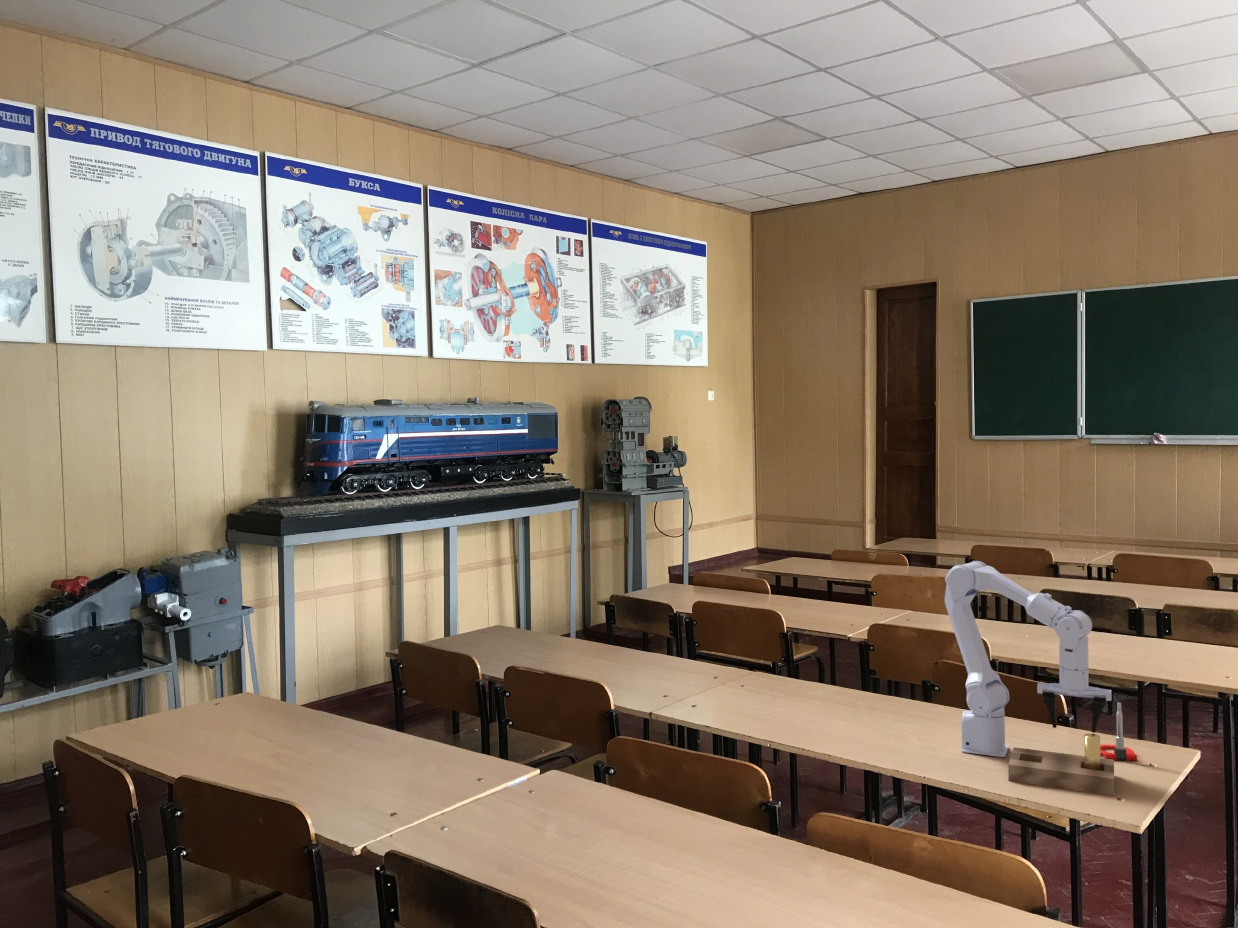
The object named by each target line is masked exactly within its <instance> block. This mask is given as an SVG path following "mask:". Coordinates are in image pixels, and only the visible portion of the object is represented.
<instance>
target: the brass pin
mask: <svg viewBox="0 0 1238 928" xmlns="http://www.w3.org/2000/svg"><path fill="white" fill-rule="evenodd" d="M1083 737H1084V745H1083V747H1084V749H1083V750H1084V752H1083V753H1084V755H1083V756H1085V769H1091V770H1099V771H1100V758H1101V755H1100V745H1101V735H1100V734H1097V733H1092V732H1091V733H1084V735H1083Z"/></svg>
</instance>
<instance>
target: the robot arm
mask: <svg viewBox="0 0 1238 928" xmlns="http://www.w3.org/2000/svg"><path fill="white" fill-rule="evenodd" d="M944 581H945V584H946V586H945V592H944V601H943V602H944V606H945V607H946V610H947V611H946V612H947V614H948V617H949V621H950V623H951V626H952V629H953V632H954V635H955V639H956V642H957V644H958V647H959V649H960V650H959V652H960V654H961V657H962V660H963V662H964V665H965V668H966V673H967V679H966V682H965V689H966V705H967V706H968V709H969V710H963V711H962V717H961V752H962V753H967V754H973V755H975V754H976V755H985V756H990V757H999V758H1005V757H1006V756H1007V753H1008V751H1009V745H1007V744H1006V725H1005V724H1006V722H1005V721H1006V720H1005V719H1006V718H1005V717H1006V716H1005V714H1006V711H1005V706H1006V705H1007V704H1008V703H1009V701H1010V692H1009V689H1008V687H1006V685H1005V684H1004V683H1003V682H1002V680H1001V677H1000V675H999V674H998V672H996V671H995V670H994V669H993V668H992V666H991V664H990V663H991V662H990V660H989V658H988V657H989V656H988V654H987V650H986V648H985V645H984V642H983V639H982V636H981V633H980V630H979V627H978V624H977V621H976V618H975V615H974V612H973V609H972V607H971V606H972V605H971V602H972V601H973V599H974V598H975V596H976V595H977V593H978V592H980V591H986V590H987V591H988V590H989V591H990V590H991V591H994V592H996V593H998V594H1000V595H1002V596H1004V597H1006V598H1008V599H1009V600H1011V601H1013V602H1015V603H1017V604H1019V605H1021V606H1023V607H1024V609H1025V611H1026V614H1027V615H1028V616H1030V617H1032V618H1033V619H1034V620H1037V621H1038V622H1040V623H1042V624H1043V625H1046V626H1047V627H1048V628H1051V630H1054V631H1055V634H1056V636H1058V638H1059V646H1058V647H1059V648H1058V649H1059V650H1058V652H1059V656H1058V657H1059V660H1058V661H1059V665H1058V666H1059V668H1058V670H1059V675H1058V676H1059V682H1058V683H1056V682H1053V683H1052V682H1051V683H1048V682H1038V683H1037V688H1036V689H1037V692H1036V693H1037V694H1041V695H1042V700H1043V702H1044V704H1045V706H1046V708H1047V711H1048V712H1049V713H1048V714H1049V716H1050V719H1051V724H1052V728H1053V729H1057V726H1058V725H1057V723H1058V720H1057V695H1059V696H1070V697H1078V698H1088V699H1092V722H1091V733H1092V734H1096V731H1097V724H1098V722H1099V721H1098V720H1099V718H1100V716H1101V714H1102V712H1103V710H1104V708H1105V707H1106V703H1107V701H1108V702H1111V701H1112V689H1107V688H1100V687H1095V686H1089V636H1088V635H1089V634H1090V633H1091V632H1092V629H1093V621H1092V619H1091V618H1090V616H1089V615H1088V614H1086V613H1085V612H1084V611H1083V610H1077V609H1076V610H1072V607H1071V606H1069V605H1064V604H1062V603H1061V602H1058V601H1056V600H1055V599H1053V598H1052V597H1053V596H1052V594H1050V593H1047V592H1046V593H1042V592H1037V593H1032V592H1030V591H1029V590H1028V589H1026V588H1024V587H1023V586H1020V585H1019V584H1018V583H1016V582H1015V581H1013V580H1012V579H1010V578H1008V577H1006V576H1005V575H1003V574H1002V573H1000V571H999V570H996V568H995V567H993V566H990V565H987V564H986V563H984V562H983V561H980V560H973V561H970V562H968V563H964V564H957V565H954V566H953V567H952V568H950V569H949V571H948V573H947V574H946V575H945V577H944Z"/></svg>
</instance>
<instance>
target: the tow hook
mask: <svg viewBox="0 0 1238 928" xmlns="http://www.w3.org/2000/svg"><path fill="white" fill-rule="evenodd" d="M1116 703H1117V704H1116V705H1117V707H1116V708H1117V709H1116V710H1117V711H1116V737H1115V744H1100V757H1101V756H1102V757H1103V758H1104V759H1112V760H1114V761H1137V760H1138V756H1137V753H1135V751H1134V750H1133V749H1131V748H1128V747H1127V746H1126V747H1125V737H1124V734H1123V733H1124V728H1123V722H1124V721H1123V712H1122V702H1116ZM1105 750H1113V752H1109V751H1105Z"/></svg>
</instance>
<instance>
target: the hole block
mask: <svg viewBox="0 0 1238 928" xmlns="http://www.w3.org/2000/svg"><path fill="white" fill-rule="evenodd" d="M1007 768H1008V769H1007V770H1008V778H1007V779H1008V781H1009V782H1014V783H1015V782H1017V783H1024V784H1028V785H1029V784H1031V785H1039V786H1045V787H1052V788H1058V789H1059V788H1060V789H1065V790H1070V791H1071V790H1072V791H1073V790H1074V791H1080V792H1087V793H1092V794H1093V793H1094V794H1100V795H1108V796H1115V760H1112V759H1104V757H1103V758H1101V757H1100V771H1099V770H1091V769H1085V756H1084V755H1079V754H1070V753H1062V752H1053V751H1049V750H1048V751H1046V750H1039V749H1030V748H1023V747H1014V746H1013V748H1012V751H1011V754H1010V757H1009V761H1008V765H1007Z"/></svg>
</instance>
